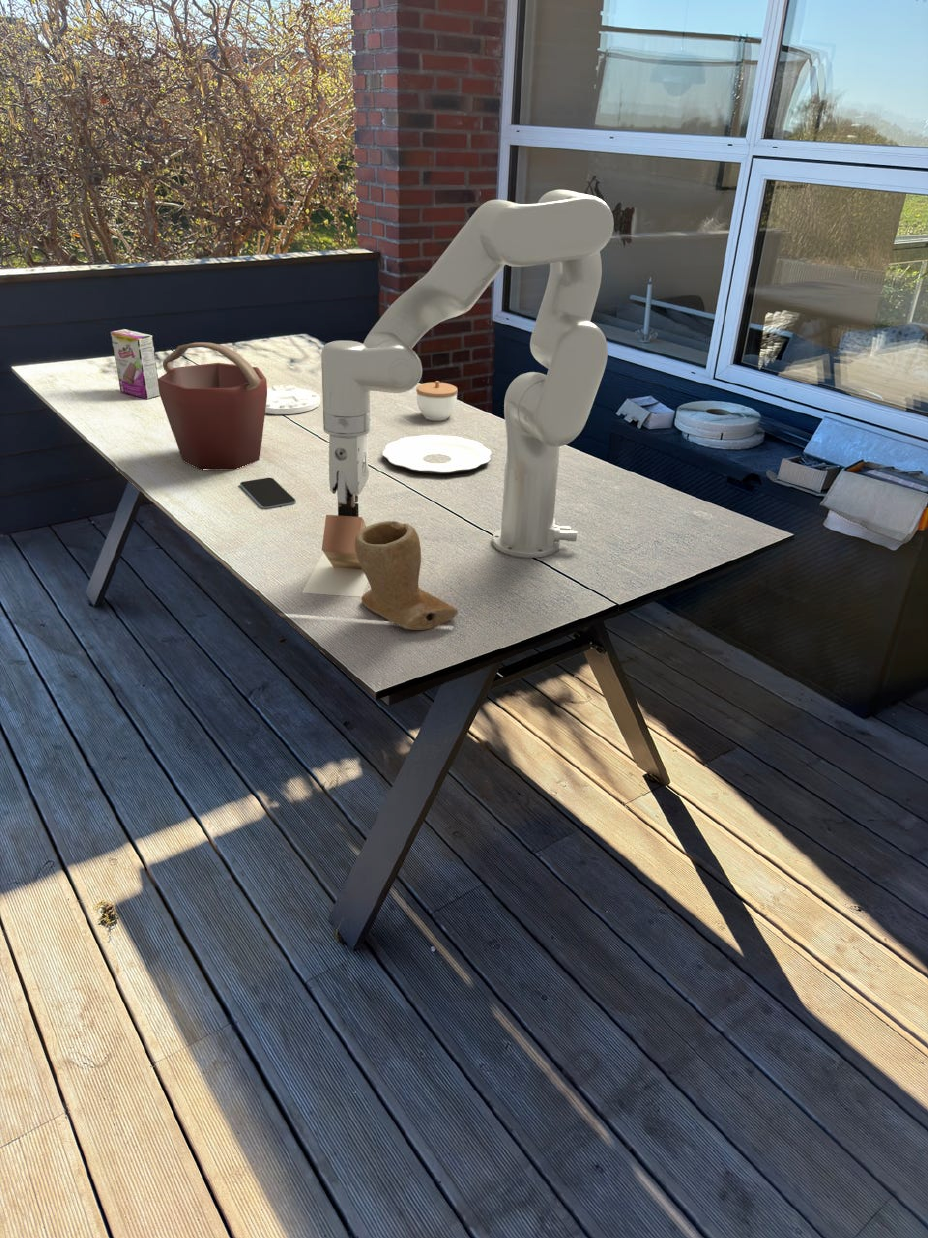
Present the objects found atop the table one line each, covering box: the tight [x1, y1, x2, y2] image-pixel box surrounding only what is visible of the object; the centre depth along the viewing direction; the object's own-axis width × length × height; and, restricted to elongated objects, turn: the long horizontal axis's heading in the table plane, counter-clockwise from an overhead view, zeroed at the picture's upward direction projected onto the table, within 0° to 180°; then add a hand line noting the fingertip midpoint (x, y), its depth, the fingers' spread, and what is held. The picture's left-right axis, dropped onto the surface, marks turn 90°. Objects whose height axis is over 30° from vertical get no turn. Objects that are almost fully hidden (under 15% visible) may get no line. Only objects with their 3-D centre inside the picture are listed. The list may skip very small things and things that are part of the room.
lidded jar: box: [415, 380, 459, 422], centre depth 232 cm, size 11×11×9 cm
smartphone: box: [239, 477, 297, 510], centre depth 184 cm, size 7×1×15 cm
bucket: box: [157, 341, 268, 471], centre depth 196 cm, size 24×22×25 cm
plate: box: [381, 434, 493, 475], centre depth 206 cm, size 25×25×2 cm
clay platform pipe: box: [355, 520, 459, 631], centre depth 138 cm, size 15×12×15 cm
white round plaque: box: [265, 384, 321, 415], centre depth 239 cm, size 20×20×3 cm
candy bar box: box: [110, 328, 160, 400], centre depth 239 cm, size 11×5×16 cm, turn 58°
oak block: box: [321, 514, 367, 569], centre depth 151 cm, size 6×6×10 cm
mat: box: [301, 551, 369, 598], centre depth 156 cm, size 10×22×1 cm, turn 175°
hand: (348, 525), depth 153 cm, fingers closed
